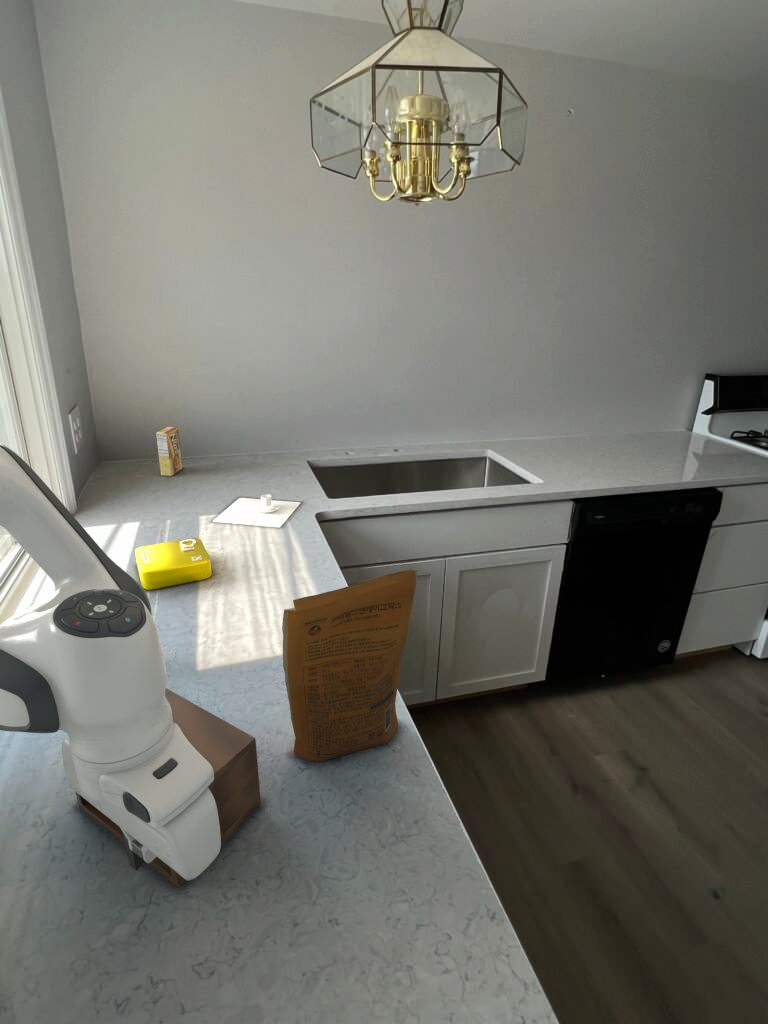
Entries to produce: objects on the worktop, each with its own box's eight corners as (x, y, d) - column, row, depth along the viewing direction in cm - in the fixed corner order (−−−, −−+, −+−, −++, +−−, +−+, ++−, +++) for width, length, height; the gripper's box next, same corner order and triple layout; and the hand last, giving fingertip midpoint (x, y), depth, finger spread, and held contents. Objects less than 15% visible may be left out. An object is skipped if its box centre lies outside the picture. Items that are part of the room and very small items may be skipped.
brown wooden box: (178, 888, 62) (166, 816, 58) (78, 807, 71) (62, 740, 67) (260, 803, 72) (255, 737, 68) (164, 742, 81) (154, 681, 77)
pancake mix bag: (418, 744, 82) (429, 576, 72) (291, 781, 75) (282, 602, 65) (400, 713, 88) (407, 554, 77) (280, 745, 81) (271, 576, 71)
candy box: (171, 468, 201) (166, 426, 196) (183, 468, 201) (178, 427, 195) (160, 475, 193) (154, 432, 188) (172, 476, 193) (167, 433, 187)
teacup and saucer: (274, 515, 162) (273, 502, 160) (248, 513, 163) (247, 500, 162) (284, 505, 170) (283, 492, 169) (259, 503, 171) (258, 490, 170)
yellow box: (136, 563, 133) (133, 545, 131) (201, 551, 139) (199, 534, 137) (143, 592, 120) (139, 572, 119) (213, 578, 127) (211, 559, 125)
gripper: (34, 726, 56) (60, 825, 61) (168, 827, 46) (186, 935, 51) (93, 691, 61) (113, 785, 66) (226, 775, 51) (237, 878, 56)
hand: (146, 851), depth 58 cm, fingers closed
